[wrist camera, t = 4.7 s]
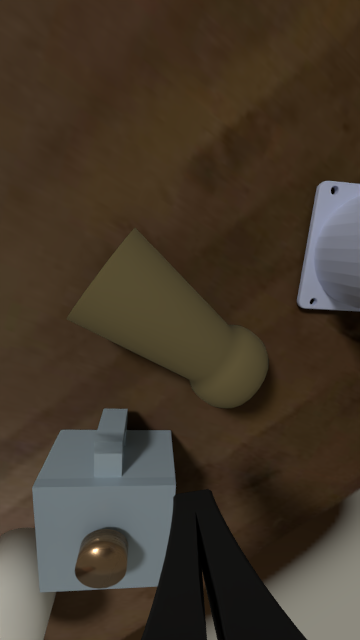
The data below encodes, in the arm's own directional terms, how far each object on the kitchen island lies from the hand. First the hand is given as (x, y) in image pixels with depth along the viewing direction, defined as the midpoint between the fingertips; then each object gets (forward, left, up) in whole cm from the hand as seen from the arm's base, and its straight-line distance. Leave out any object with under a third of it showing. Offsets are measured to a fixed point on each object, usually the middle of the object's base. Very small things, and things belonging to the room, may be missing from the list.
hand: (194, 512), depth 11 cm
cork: (+5, -8, -7) cm, 12 cm away
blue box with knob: (+4, +7, -10) cm, 13 cm away
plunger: (+4, +8, -9) cm, 13 cm away
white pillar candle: (+11, +16, -10) cm, 22 cm away
